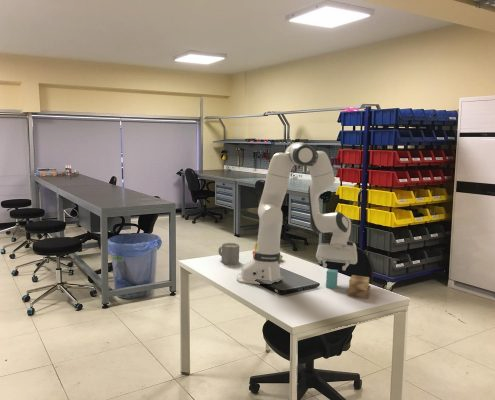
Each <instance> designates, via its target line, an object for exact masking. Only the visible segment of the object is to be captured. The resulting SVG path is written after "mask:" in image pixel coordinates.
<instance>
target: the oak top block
mask: <svg viewBox="0 0 495 400" xmlns="http://www.w3.org/2000/svg"><path fill="white" fill-rule="evenodd" d="M369 285H370V277H369V276H364V275H356V274H351V276H350V277H349V280H348V287H349V288H351V289H358V290H365V291H367V289H368V286H369Z"/></svg>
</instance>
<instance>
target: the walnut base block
mask: <svg viewBox="0 0 495 400" xmlns="http://www.w3.org/2000/svg"><path fill="white" fill-rule="evenodd" d="M370 293H371V285H370V284H369V286H368V289H367V291H365V290H358V289H351V288H349V286H348V287H347V295H346V296H347V297H352V298H359V299H364V298H365V300H368V299H369V296H370Z"/></svg>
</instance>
